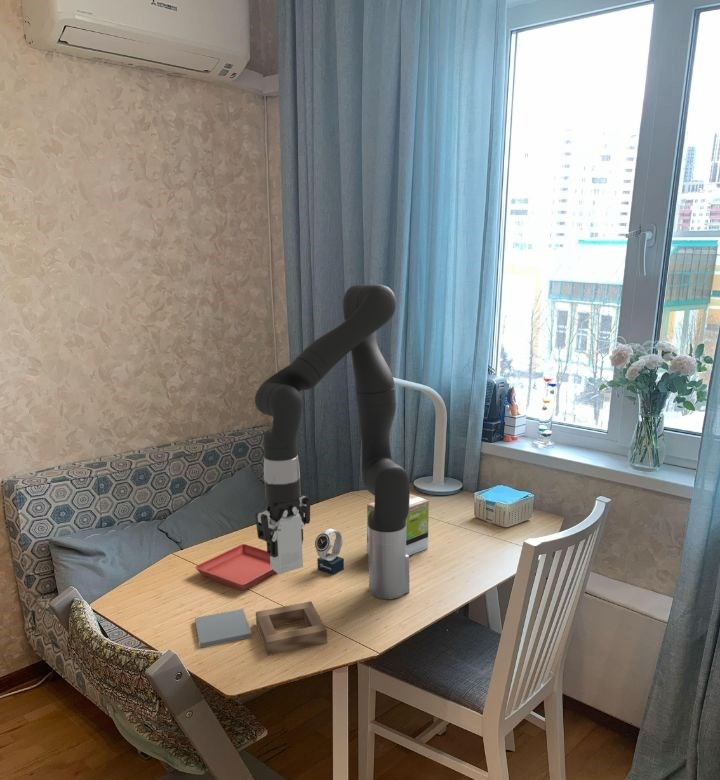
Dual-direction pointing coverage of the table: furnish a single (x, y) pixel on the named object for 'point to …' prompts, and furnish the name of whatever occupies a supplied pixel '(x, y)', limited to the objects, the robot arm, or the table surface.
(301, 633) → the walnut collar
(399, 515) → the robot arm
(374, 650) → the table surface
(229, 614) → the slate mat
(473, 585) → the table surface
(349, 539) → the table surface
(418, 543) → the tea box
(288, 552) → the skincare box
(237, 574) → the plant saucer
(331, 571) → the watch
